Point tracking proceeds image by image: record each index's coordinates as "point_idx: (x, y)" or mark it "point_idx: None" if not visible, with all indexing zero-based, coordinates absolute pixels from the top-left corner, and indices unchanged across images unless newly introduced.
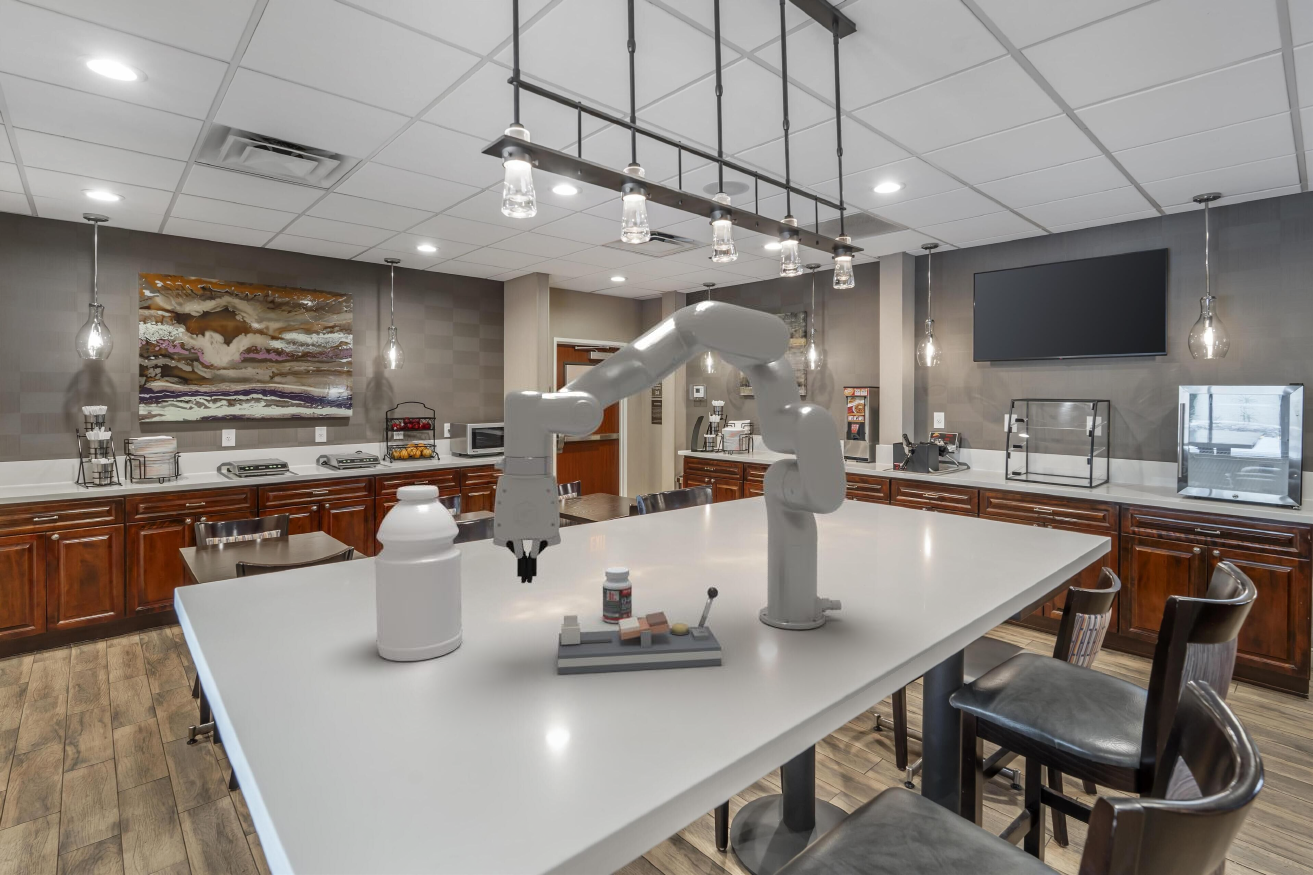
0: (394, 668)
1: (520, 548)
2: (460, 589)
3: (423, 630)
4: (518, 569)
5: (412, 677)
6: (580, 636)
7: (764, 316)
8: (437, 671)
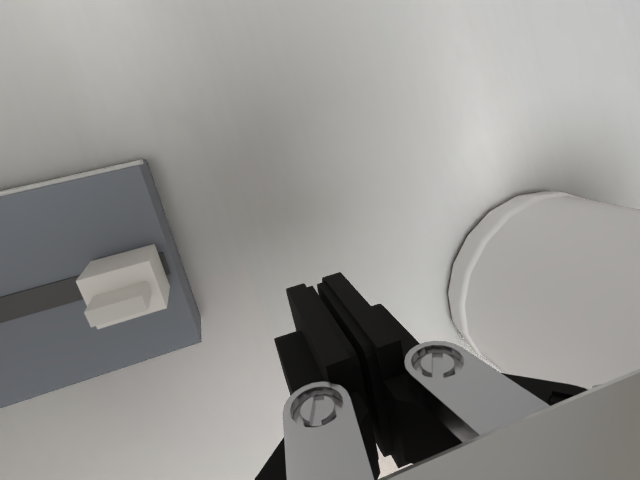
0: (538, 159)
1: (458, 399)
2: None
3: (551, 220)
4: (388, 320)
5: (493, 114)
6: (120, 331)
7: None
8: (452, 152)
